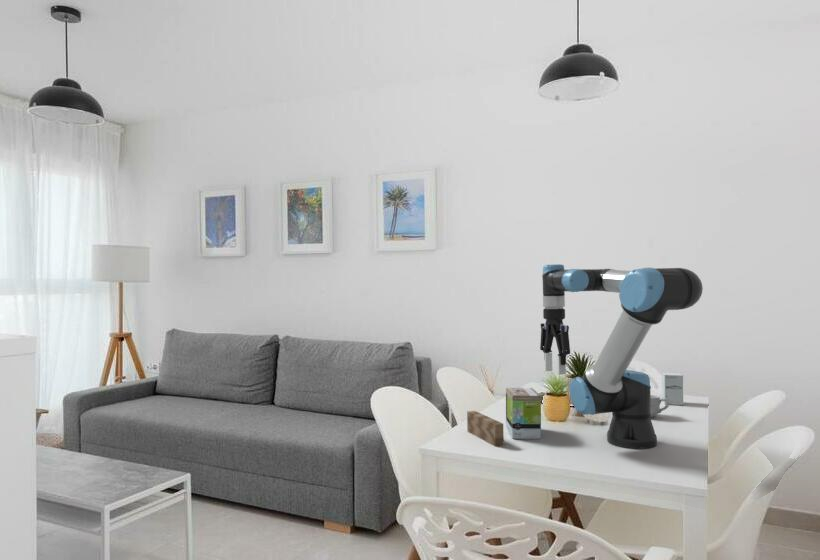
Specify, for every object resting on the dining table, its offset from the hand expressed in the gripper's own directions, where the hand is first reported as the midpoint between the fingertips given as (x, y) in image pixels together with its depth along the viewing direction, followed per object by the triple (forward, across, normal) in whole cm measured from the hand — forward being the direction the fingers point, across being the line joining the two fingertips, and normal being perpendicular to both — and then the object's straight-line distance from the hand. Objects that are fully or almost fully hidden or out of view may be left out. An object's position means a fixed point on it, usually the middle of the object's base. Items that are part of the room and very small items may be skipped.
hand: (555, 372), depth 202 cm
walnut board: (+20, 0, +28) cm, 35 cm away
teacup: (+20, 0, -42) cm, 47 cm away
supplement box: (+20, +14, -68) cm, 73 cm away
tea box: (+20, 0, +14) cm, 24 cm away
